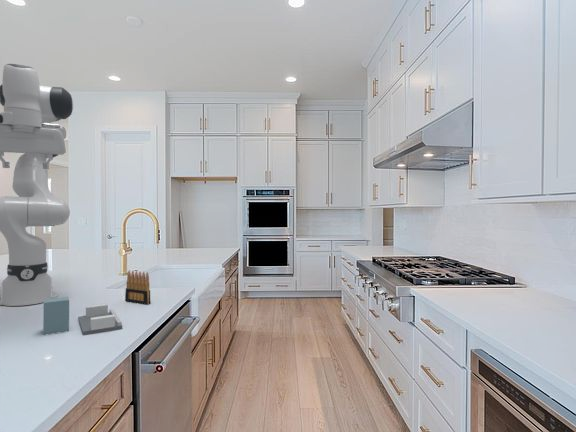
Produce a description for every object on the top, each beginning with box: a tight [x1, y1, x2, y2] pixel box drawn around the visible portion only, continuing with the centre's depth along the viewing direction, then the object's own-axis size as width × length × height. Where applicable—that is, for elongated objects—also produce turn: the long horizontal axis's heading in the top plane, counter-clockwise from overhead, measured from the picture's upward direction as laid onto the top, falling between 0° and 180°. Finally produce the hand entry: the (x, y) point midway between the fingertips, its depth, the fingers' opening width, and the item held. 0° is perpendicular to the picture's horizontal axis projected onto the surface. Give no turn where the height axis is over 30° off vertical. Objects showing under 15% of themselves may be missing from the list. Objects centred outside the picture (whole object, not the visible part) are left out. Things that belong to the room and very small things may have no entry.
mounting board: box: [77, 303, 123, 336], centre depth 105 cm, size 16×10×4 cm, turn 35°
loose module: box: [42, 296, 70, 336], centre depth 98 cm, size 4×6×9 cm
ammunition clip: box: [124, 270, 151, 306], centre depth 130 cm, size 11×2×12 cm, turn 69°
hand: (26, 168), depth 102 cm, fingers open, 8 cm apart
